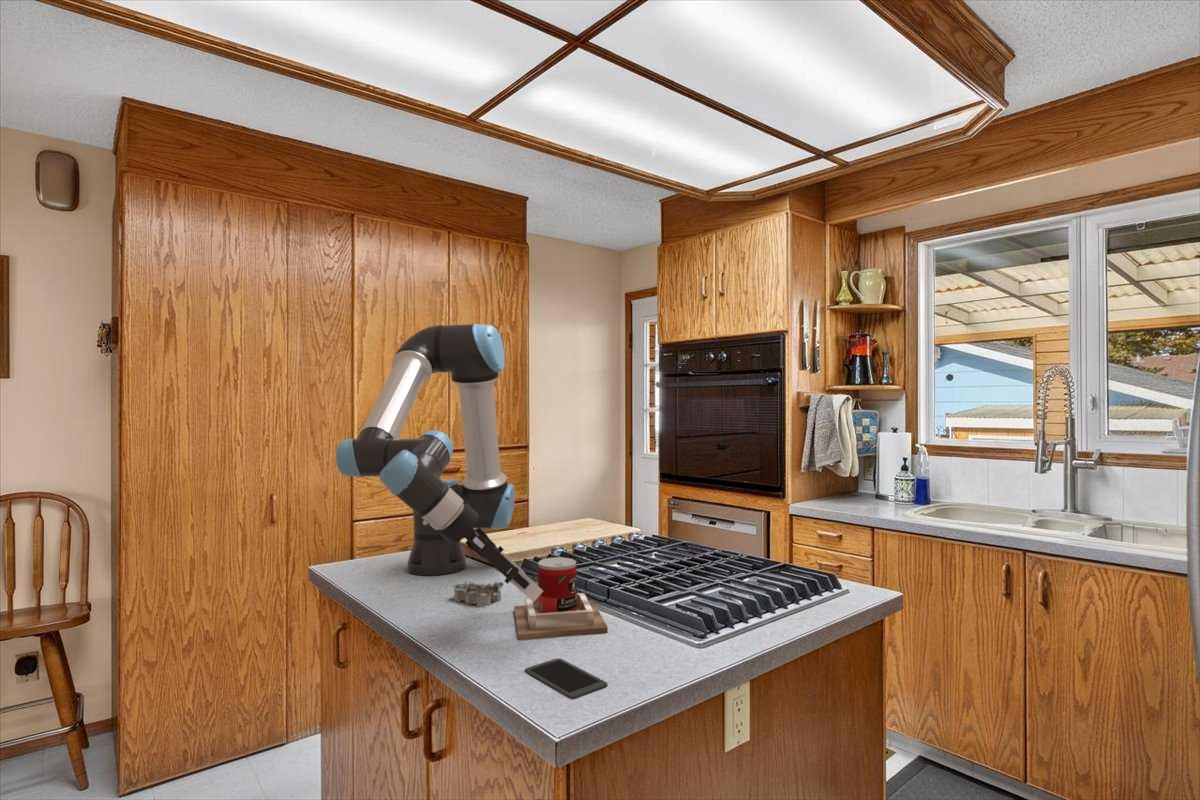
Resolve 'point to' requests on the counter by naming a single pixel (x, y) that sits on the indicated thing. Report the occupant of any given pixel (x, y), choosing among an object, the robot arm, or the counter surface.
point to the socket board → (558, 620)
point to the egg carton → (478, 592)
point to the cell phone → (566, 678)
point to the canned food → (557, 585)
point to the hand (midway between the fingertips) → (529, 586)
